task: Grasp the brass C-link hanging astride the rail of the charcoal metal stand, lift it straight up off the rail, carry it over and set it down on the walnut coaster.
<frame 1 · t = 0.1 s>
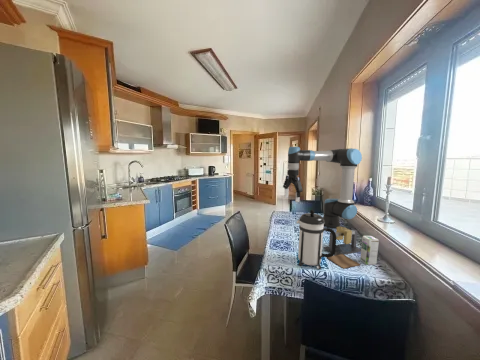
hand: (291, 199, 143), 28 cm above the table, fingers open, 13 cm apart
stand: (342, 250, 128), on the table
coaster: (342, 261, 114), on the table
c link: (343, 241, 128), point 6 cm above the table, touching stand
syrup box: (368, 262, 114), on the table
coffee press: (311, 263, 112), on the table
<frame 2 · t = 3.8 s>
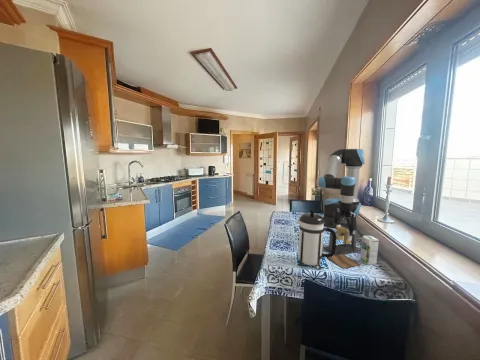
hand: (343, 237, 127), 8 cm above the table, fingers closed on c link, 8 cm apart
c link: (343, 241, 128), point 6 cm above the table, touching gripper, stand
everything else where it was.
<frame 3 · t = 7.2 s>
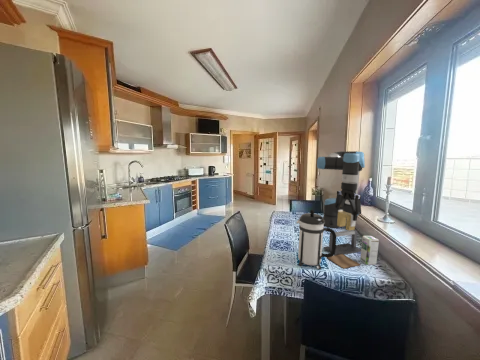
hand: (345, 223, 112), 22 cm above the table, fingers closed on c link, 8 cm apart
c link: (345, 227, 112), point 20 cm above the table, touching gripper
everything else where it was.
when the fingers open (4 cm above the table, at t = 10.7 s): c link drops 1 cm, resting on coaster.
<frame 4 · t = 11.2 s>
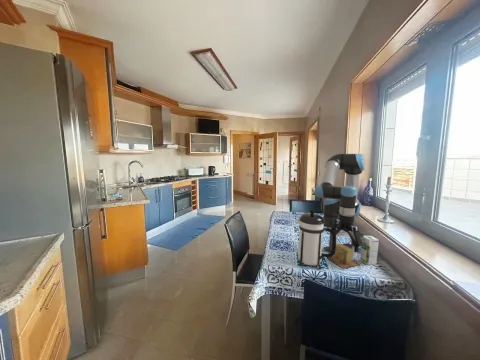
hand: (343, 251, 114), 6 cm above the table, fingers open, 13 cm apart
c link: (342, 260, 114), point 1 cm above the table, touching coaster
everything else where it was.
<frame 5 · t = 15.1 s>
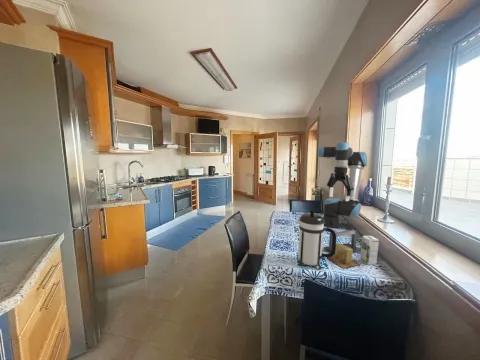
hand: (338, 198, 135), 31 cm above the table, fingers open, 13 cm apart
nothing on the table moved.
at the end: c link 0.0 cm from the coaster (horizontally); c link point 0.6 cm above the table; c link touching coaster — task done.
